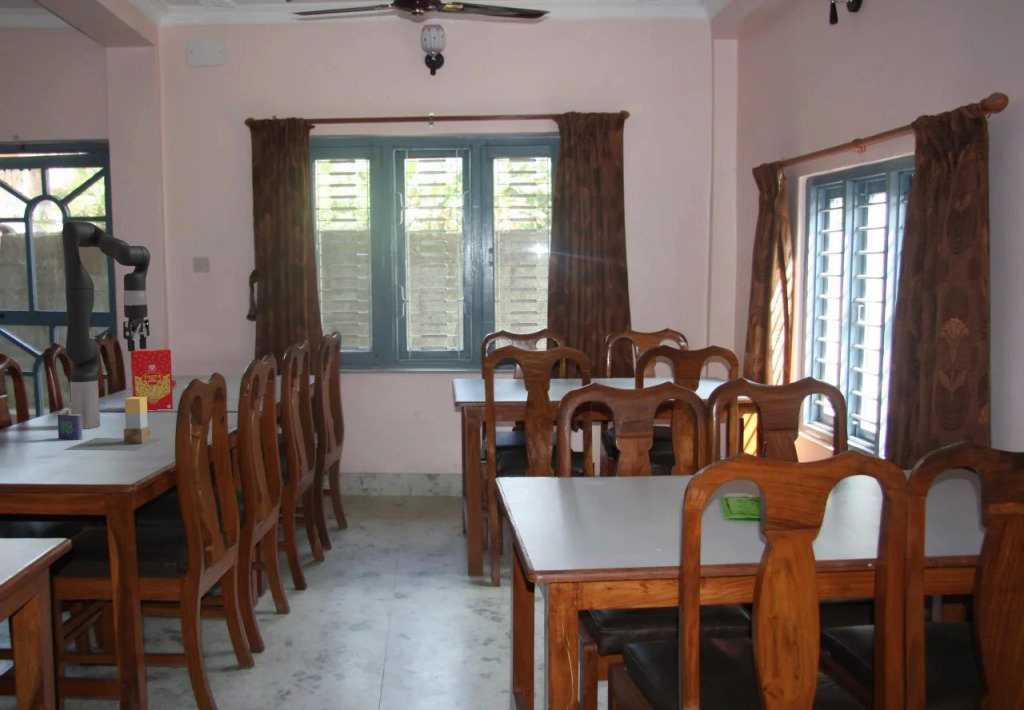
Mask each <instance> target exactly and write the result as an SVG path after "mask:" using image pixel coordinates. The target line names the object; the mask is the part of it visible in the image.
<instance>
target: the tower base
mask: <svg viewBox="0 0 1024 710" xmlns="http://www.w3.org/2000/svg"><path fill="white" fill-rule="evenodd" d="M123 438H124V444H144V443H146V442H149V441H150V438H151V426H150V425H148V426H147V427H145V428H142V429H126V427H125V428H123Z"/></svg>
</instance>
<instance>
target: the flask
mask: <svg viewBox="0 0 1024 710" xmlns="http://www.w3.org/2000/svg"><path fill="white" fill-rule="evenodd" d="M71 411H72V410H71V409H70V410H69V408H67V409H66V408H65V411H64V412H60V413H58V414H57V428H58V429H57V434H58V435H57V436H58V440H64V441H81V440H83V429H82V420H81V419H82V416H81V414H71Z"/></svg>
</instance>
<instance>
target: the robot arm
mask: <svg viewBox="0 0 1024 710" xmlns="http://www.w3.org/2000/svg"><path fill="white" fill-rule="evenodd" d="M61 236H62V246H63V252H64V262H65V299H66V300H65V302H66V317H67V318H66V320H67V322H66V323H67V328H66V329H67V331H66V340H65V354H66V356H67V358H68V359H69V361H70V362H72V370H71V371H70V375H69V380H70V381H69V383H70V400H71V401H69V402H68V409H69V410H70V409H71V410H72V411H71V414H81V416H82V419H81V420H82V430H84V429H92V428H97V427H98V428H99V427H100V426H101V413H100V398H99V397H100V393H99V391H100V390H99V372H100V349H99V345H98V343H97V341H96V340H95V339H93V337H90V320H91V317H92V313H93V310H94V304H95V284H94V280H93V279H92V277H91V275H90V273H88V271H87V269H86V268H85V266H84V265H83V262H82V261H81V260H82V259H81V256H80V248H99V251H100V252H101V253H102V254H104V255H105V256H107V257H109V258H112V259H114V260H115V261H116V262H117V263H118V264H119V265H121V266H124V267H134V269H133V271H132V272H128V273H126V274H124V276H123V316H124V318H127V319H128V321H127V320H126V321H123V322H122V329H123V330H122V334H123V335H122V338H123V340H126V341H127V343H126V344H127V351H128V352H131V351H136V343H135V342H136V341H135V339H136V336H137V335H138V337H139V339H138V340H139V342H138V343H139V349H140V350H147V346H148V345H147V339H148V337H150V336H151V335H150V334H151V331H150V320H149V319H147V317H148V316H149V313H148V312H149V311H148V293H147V283H146V282H147V281H146V280H147V274H148V270H149V268H150V267H149V266H150V264H151V263H150V261H151V254H150V251H149V250H148V248H147V247H146V246H144V245H130V244H129V243H128V242H126V241H124V240H123V239H120V238H118V237H115V236H112V235H110V234H108V233H107V232H105V231H104V230H102V228H100V227H99V226H97V224H96V225H95V224H94V223H92V222H89V221H77V220H68V221H66V222H64V224H63V227H62V233H61ZM145 318H146V319H145Z"/></svg>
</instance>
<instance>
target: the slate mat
mask: <svg viewBox="0 0 1024 710" xmlns="http://www.w3.org/2000/svg"><path fill="white" fill-rule="evenodd" d="M162 440H163V438H157V437H156V438H152V437H150V441H149V442H146V443H144V444H124V437H95V438H92V439H89V440H87V441H84V442H80V443H78V444H76V445H73V446H70V447H67V448H65V449H63V450H64V451H127V452H128V451H129V452H130V451H132V452H133V451H134V452H135V451H140V450H141V449H144V448H145V447H148V446H151V445H152V444H156V443H157V442H160V441H162Z"/></svg>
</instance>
